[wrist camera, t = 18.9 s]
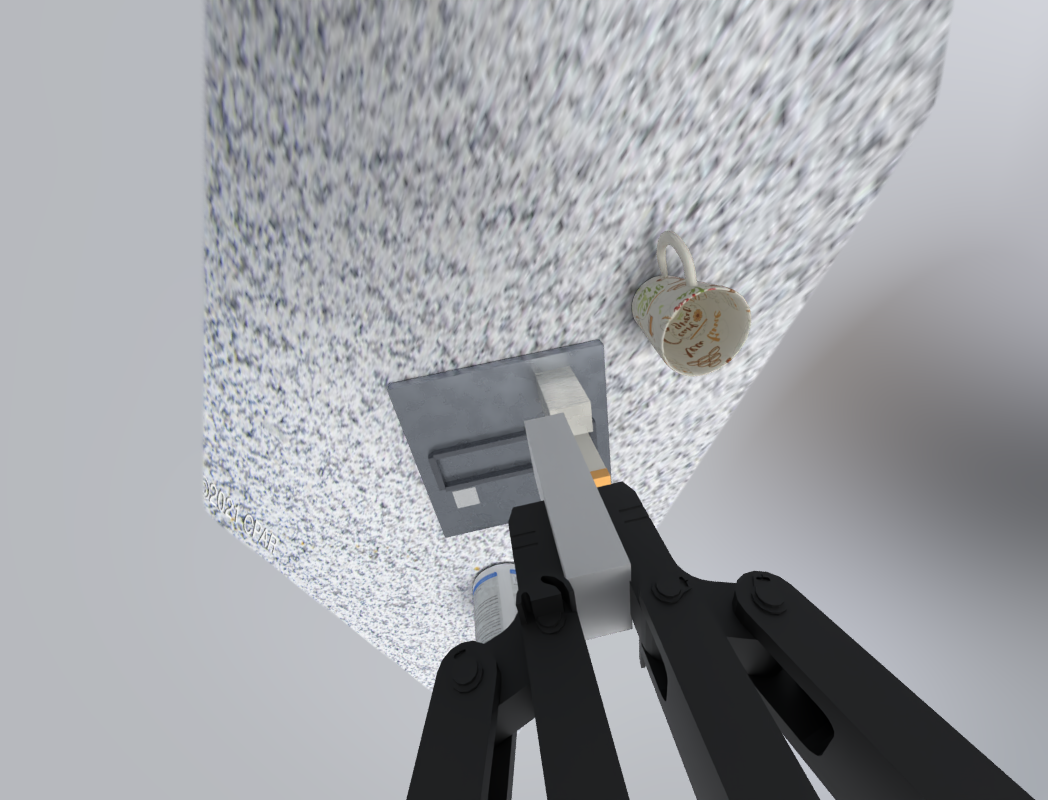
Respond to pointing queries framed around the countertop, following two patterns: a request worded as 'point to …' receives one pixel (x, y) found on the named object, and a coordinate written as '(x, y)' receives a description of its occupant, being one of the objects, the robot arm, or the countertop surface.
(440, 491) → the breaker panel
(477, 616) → the supplement tub
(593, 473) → the handle
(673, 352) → the mug
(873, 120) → the countertop surface
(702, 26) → the countertop surface
